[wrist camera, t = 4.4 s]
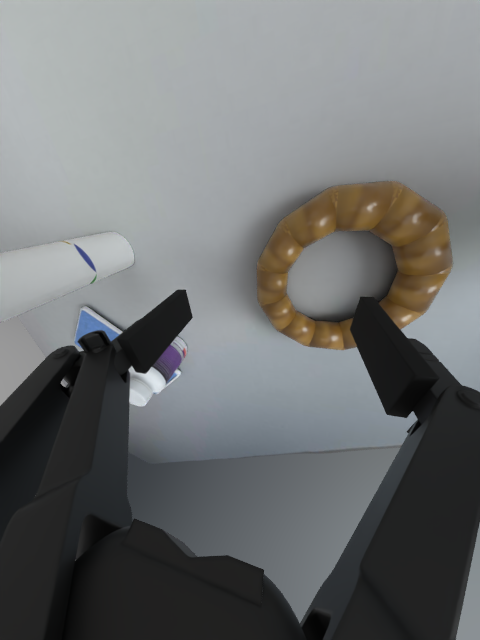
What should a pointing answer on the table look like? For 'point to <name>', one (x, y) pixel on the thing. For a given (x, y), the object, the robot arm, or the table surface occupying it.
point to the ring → (358, 215)
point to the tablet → (95, 322)
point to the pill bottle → (156, 373)
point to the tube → (58, 270)
